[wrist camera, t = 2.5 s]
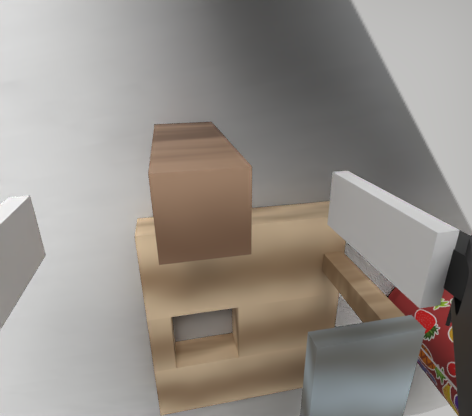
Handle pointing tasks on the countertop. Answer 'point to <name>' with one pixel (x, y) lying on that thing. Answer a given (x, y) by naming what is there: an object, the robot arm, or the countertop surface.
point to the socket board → (278, 322)
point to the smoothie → (434, 343)
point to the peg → (199, 194)
